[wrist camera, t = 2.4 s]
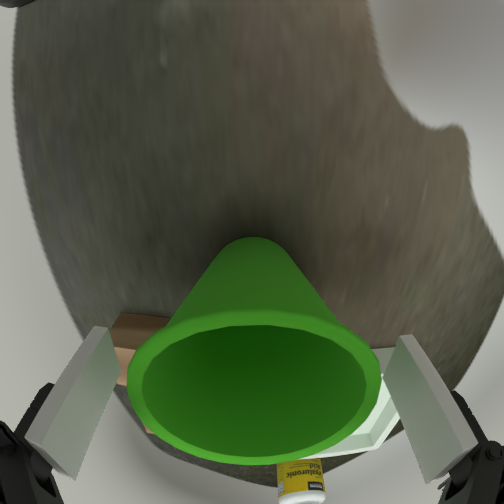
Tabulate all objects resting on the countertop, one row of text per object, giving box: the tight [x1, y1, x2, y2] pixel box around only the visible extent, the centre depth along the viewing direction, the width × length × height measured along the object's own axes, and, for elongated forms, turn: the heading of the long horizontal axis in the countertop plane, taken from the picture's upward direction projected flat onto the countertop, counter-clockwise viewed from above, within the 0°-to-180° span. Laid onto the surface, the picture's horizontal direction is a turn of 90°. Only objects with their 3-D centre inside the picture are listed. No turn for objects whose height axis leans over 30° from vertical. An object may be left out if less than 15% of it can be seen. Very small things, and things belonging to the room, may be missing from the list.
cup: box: [127, 237, 382, 465], centre depth 14 cm, size 9×9×11 cm
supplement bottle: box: [277, 458, 326, 504], centre depth 24 cm, size 5×5×10 cm
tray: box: [297, 347, 400, 460], centre depth 23 cm, size 14×18×3 cm
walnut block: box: [109, 313, 170, 386], centre depth 19 cm, size 4×4×4 cm
